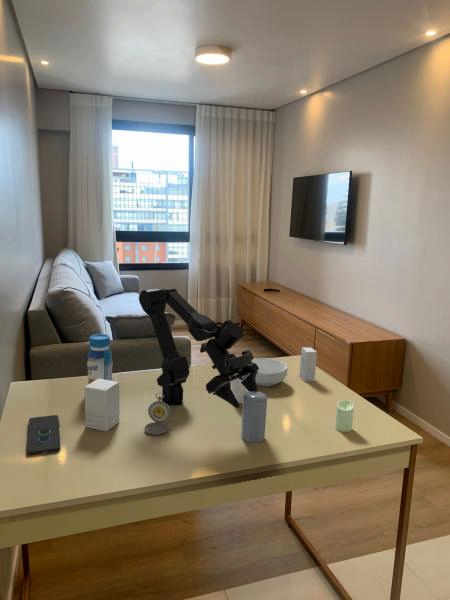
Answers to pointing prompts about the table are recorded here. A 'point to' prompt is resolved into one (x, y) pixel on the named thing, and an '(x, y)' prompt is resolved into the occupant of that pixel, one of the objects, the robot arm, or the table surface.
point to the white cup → (238, 389)
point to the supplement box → (102, 404)
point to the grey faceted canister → (254, 416)
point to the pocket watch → (158, 425)
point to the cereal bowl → (269, 371)
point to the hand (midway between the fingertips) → (248, 402)
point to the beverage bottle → (99, 358)
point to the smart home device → (43, 435)
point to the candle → (344, 416)
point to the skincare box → (308, 364)
